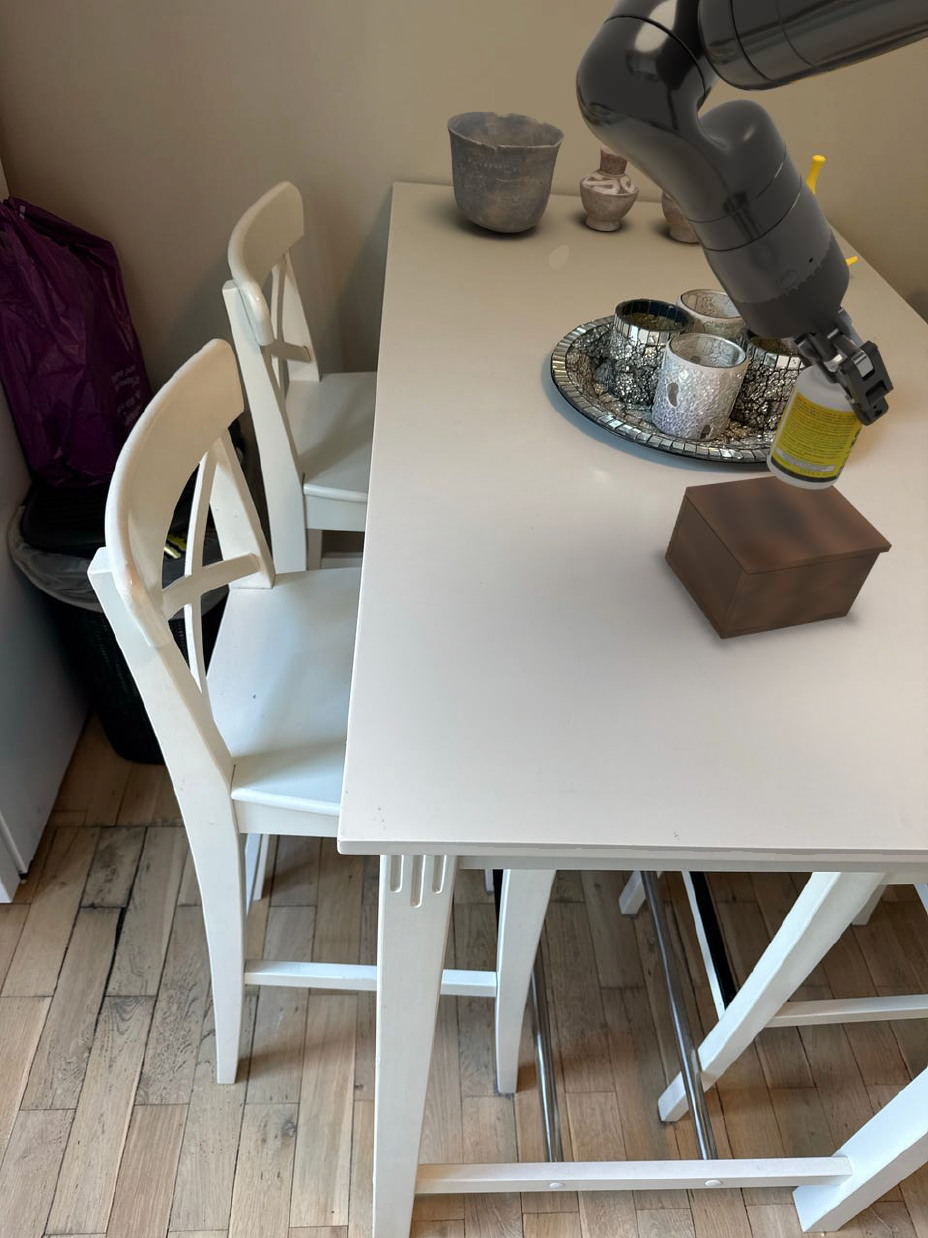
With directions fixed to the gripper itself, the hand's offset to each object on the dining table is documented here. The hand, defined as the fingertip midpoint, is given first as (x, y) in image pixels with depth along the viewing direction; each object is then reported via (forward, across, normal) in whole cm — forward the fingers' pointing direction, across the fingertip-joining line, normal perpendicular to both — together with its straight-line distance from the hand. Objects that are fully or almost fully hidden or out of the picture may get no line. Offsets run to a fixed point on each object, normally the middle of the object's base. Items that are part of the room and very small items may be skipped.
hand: (849, 393), depth 71 cm
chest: (+14, 0, +16) cm, 21 cm away
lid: (+9, 0, +10) cm, 13 cm away
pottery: (+35, +85, -5) cm, 92 cm away
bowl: (+17, +90, +13) cm, 92 cm away
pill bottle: (+4, 0, +6) cm, 8 cm away
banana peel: (+45, +68, -16) cm, 83 cm away
